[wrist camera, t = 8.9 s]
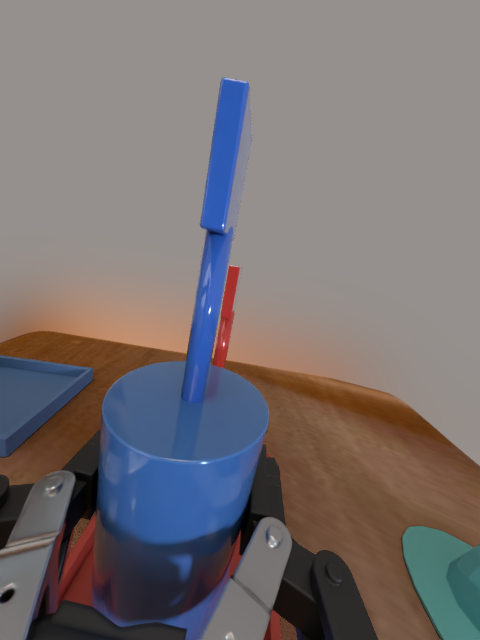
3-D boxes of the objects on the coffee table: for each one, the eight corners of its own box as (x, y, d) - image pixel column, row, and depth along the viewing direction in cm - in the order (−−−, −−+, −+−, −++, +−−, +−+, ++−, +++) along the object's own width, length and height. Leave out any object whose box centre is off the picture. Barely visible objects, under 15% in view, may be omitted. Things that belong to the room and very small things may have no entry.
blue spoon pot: (207, 719, 9) (410, 27, 4) (50, 679, 9) (48, -36, 4) (227, 535, 14) (316, 172, 10) (133, 513, 15) (174, 145, 10)
